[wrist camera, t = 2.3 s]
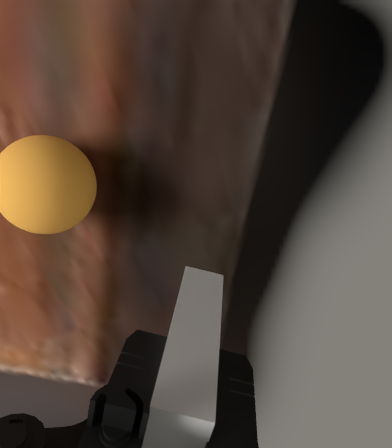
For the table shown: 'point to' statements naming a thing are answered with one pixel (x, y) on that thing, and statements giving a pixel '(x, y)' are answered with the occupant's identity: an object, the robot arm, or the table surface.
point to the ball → (45, 184)
